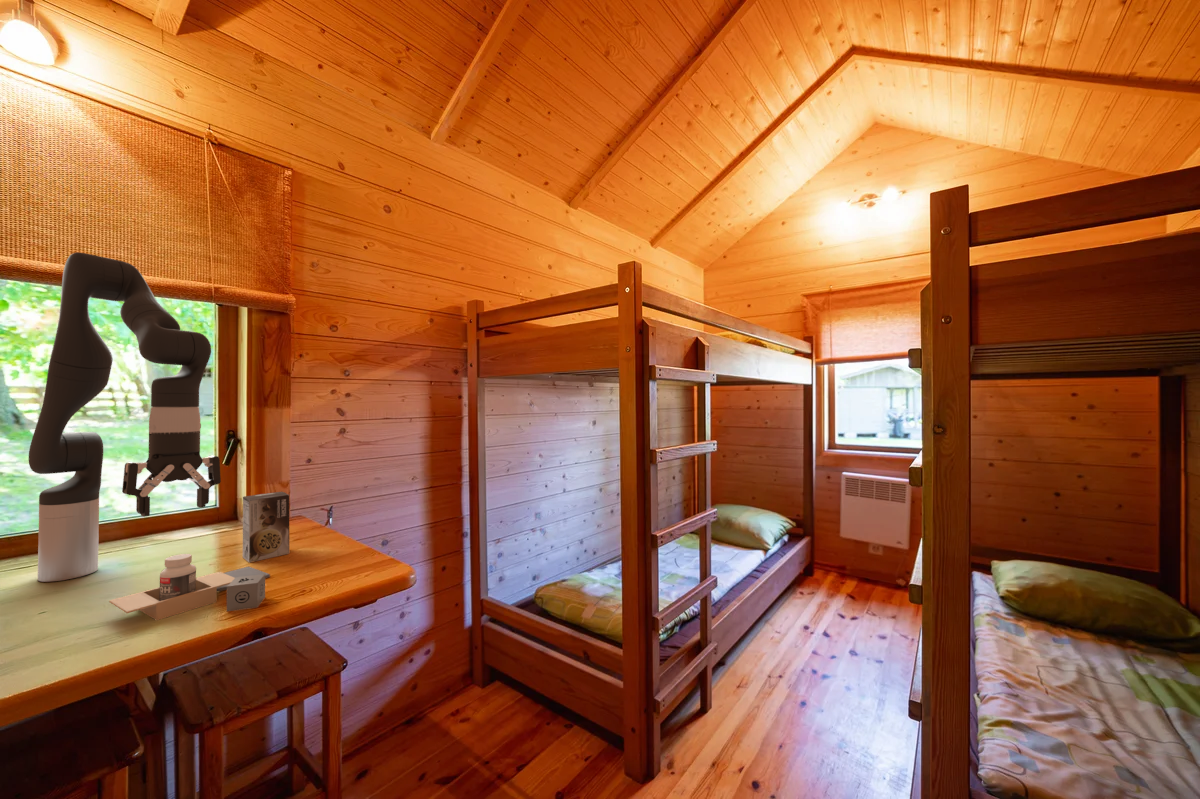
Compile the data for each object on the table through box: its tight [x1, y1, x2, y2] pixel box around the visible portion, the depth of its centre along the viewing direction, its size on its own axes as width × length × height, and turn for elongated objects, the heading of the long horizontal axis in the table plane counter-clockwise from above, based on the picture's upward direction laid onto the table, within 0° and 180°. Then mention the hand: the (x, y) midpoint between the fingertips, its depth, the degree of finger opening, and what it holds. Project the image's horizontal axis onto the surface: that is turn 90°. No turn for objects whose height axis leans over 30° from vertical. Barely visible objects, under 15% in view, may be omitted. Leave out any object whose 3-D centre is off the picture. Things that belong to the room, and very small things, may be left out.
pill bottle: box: [159, 553, 197, 601], centre depth 92 cm, size 5×5×10 cm
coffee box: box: [242, 491, 291, 563], centre depth 122 cm, size 9×6×16 cm
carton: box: [108, 571, 235, 621], centre depth 92 cm, size 9×17×3 cm, turn 151°
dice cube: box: [226, 574, 266, 612], centre depth 93 cm, size 5×5×5 cm
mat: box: [217, 566, 271, 593], centre depth 105 cm, size 10×10×1 cm
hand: (174, 511), depth 91 cm, fingers open, 8 cm apart
